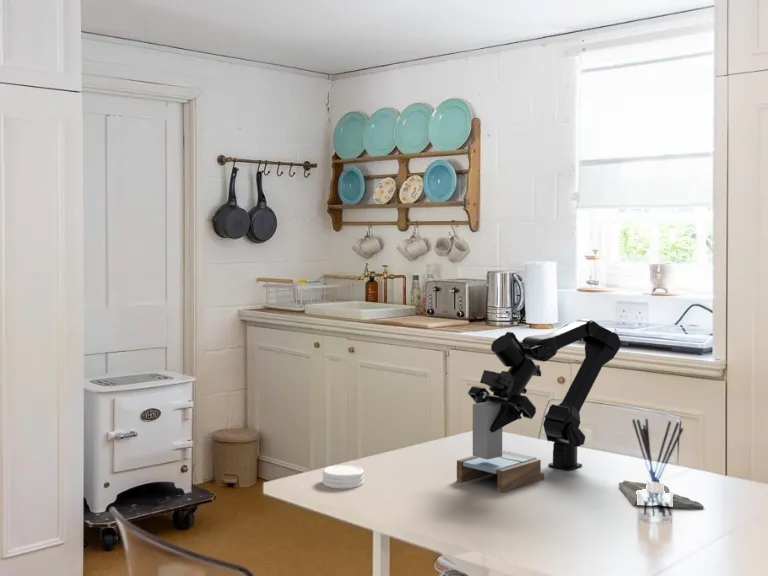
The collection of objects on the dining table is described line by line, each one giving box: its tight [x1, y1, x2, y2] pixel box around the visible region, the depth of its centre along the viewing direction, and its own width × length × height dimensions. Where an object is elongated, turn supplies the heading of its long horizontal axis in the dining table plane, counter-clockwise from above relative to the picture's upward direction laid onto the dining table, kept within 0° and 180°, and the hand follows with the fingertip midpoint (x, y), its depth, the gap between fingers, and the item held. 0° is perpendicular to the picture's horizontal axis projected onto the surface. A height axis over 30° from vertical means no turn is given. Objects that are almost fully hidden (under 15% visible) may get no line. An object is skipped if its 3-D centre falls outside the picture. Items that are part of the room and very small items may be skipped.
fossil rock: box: [618, 480, 705, 510], centre depth 206 cm, size 18×15×2 cm
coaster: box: [321, 464, 365, 490], centre depth 218 cm, size 10×10×4 cm
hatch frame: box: [456, 455, 545, 493], centre depth 220 cm, size 14×16×5 cm
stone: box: [472, 402, 503, 459], centre depth 216 cm, size 5×5×12 cm
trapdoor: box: [463, 450, 537, 475], centre depth 220 cm, size 10×16×3 cm, turn 135°
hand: (483, 429), depth 215 cm, fingers closed on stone, 5 cm apart
